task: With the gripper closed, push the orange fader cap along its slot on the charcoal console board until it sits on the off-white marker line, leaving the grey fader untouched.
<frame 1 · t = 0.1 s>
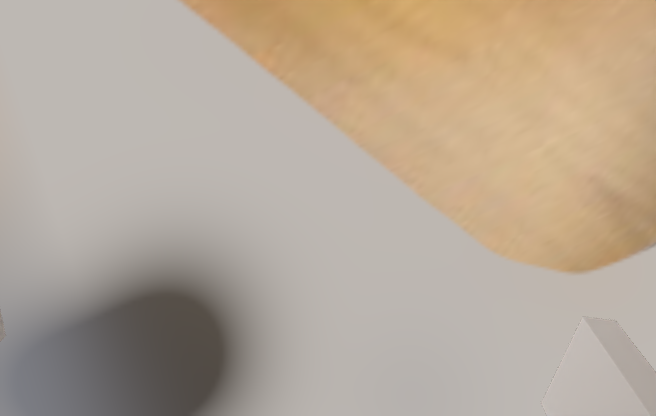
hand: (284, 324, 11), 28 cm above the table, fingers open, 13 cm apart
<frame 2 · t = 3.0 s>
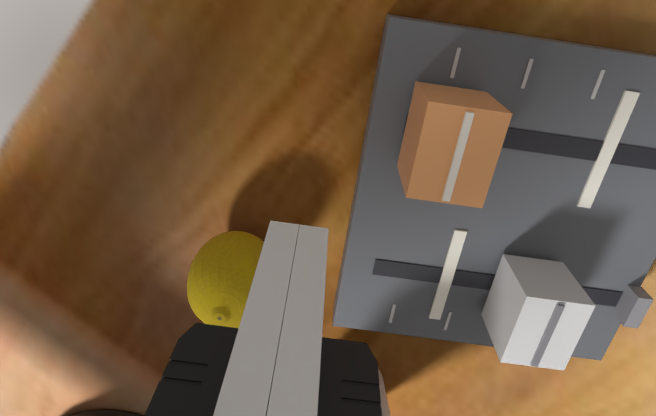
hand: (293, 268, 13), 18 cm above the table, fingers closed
fader orange: (448, 143, 25), point 5 cm above the table, slide at 0.0 cm
lemon: (245, 244, 34), on the table
fader grey: (533, 311, 30), point 5 cm above the table, slide at 0.0 cm
console: (503, 203, 32), on the table
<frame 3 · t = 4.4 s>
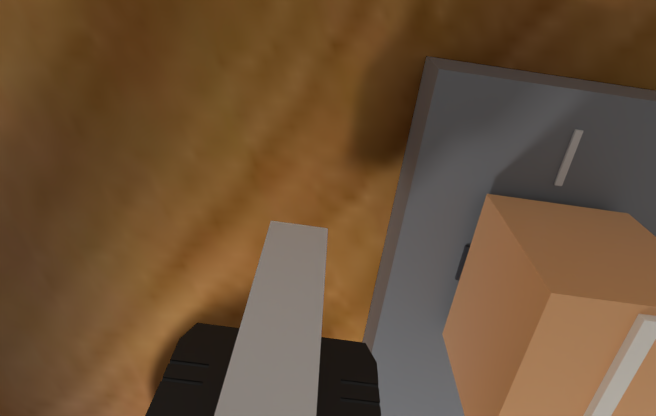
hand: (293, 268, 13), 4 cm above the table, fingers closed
fader orange: (560, 331, 12), point 5 cm above the table, slide at 0.0 cm
console: (614, 366, 19), on the table
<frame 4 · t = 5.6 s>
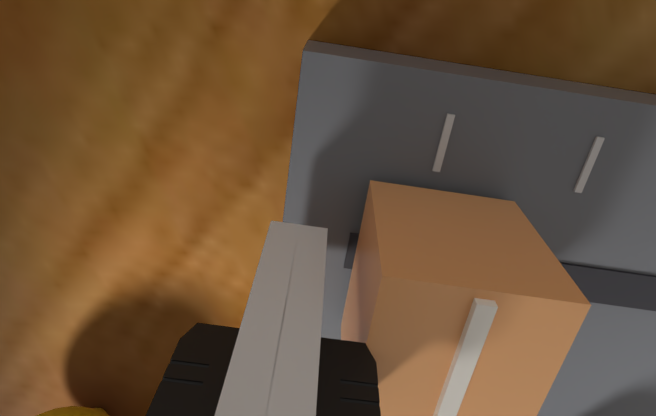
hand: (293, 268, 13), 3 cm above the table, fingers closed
fader orange: (435, 319, 12), point 5 cm above the table, slide at 0.2 cm, touching gripper
lemon: (102, 407, 21), on the table
console: (527, 359, 19), on the table
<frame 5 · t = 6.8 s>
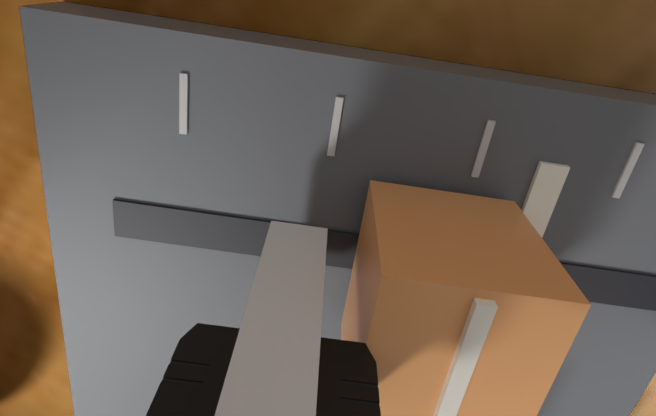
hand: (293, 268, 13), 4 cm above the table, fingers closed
fader orange: (435, 319, 12), point 5 cm above the table, slide at 7.2 cm, touching gripper
console: (353, 335, 18), on the table
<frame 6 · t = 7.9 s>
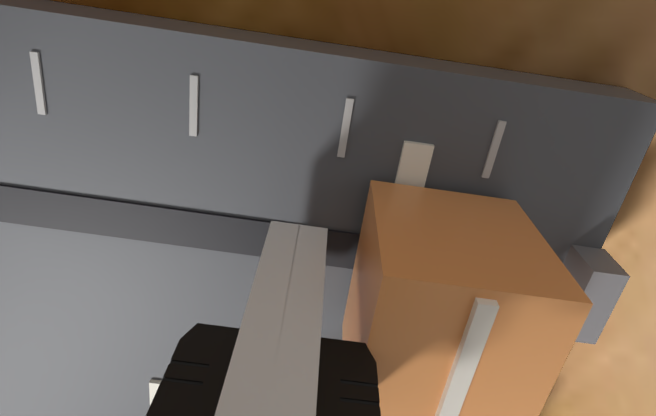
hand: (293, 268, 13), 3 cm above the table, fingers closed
fader orange: (436, 319, 12), point 5 cm above the table, slide at 10.9 cm, touching gripper
console: (257, 323, 18), on the table
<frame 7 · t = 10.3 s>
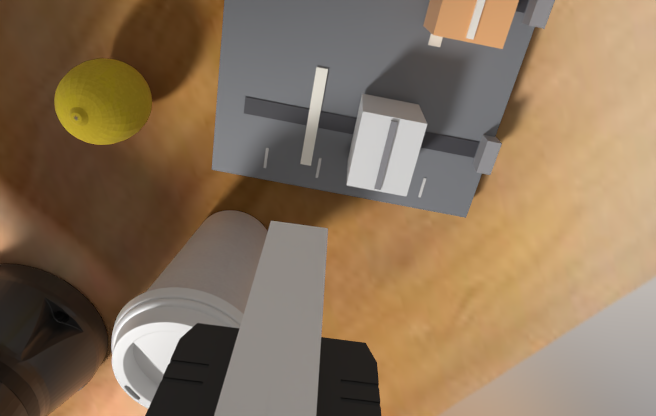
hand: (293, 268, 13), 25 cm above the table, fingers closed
lemon: (132, 87, 36), on the table
fader grey: (383, 144, 32), point 5 cm above the table, slide at 0.0 cm
console: (369, 50, 34), on the table
coffee cup: (235, 241, 42), on the table
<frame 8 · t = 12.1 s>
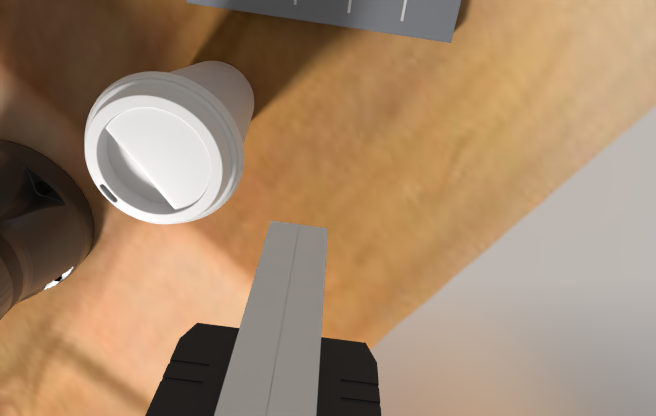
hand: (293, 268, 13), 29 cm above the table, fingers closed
coffee cup: (217, 99, 41), on the table
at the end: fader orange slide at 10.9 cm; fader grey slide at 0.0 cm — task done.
